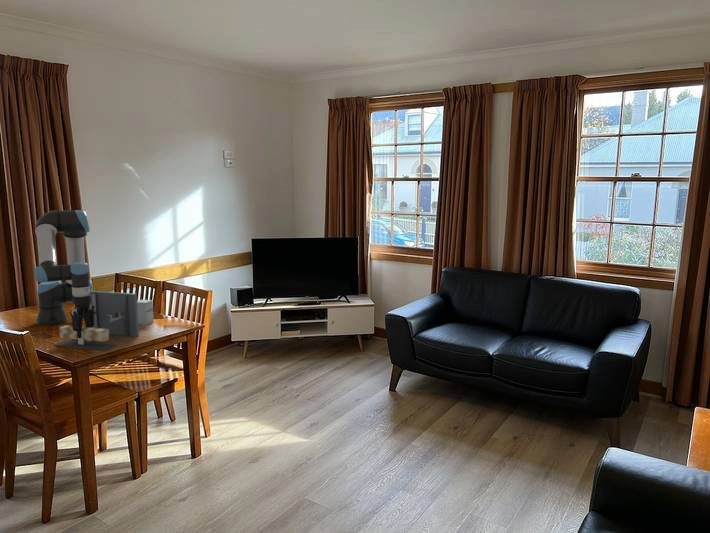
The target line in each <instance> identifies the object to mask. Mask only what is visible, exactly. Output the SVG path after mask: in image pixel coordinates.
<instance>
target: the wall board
mask: <svg viewBox="0 0 710 533" xmlns="http://www.w3.org/2000/svg"><path fill="white" fill-rule="evenodd" d="M92 294H97V299H98V314H99V328H103V329H109V335H118V336H125V331H124V317H123V318H121V319H118V320H115V321H113V322H107V315H112V318H113V317H115V312H120V315H121V314H124V313H123V296H128V307H129V324H130V336H129V337H138V336H140V334H139V330H140V329H139V324H138V311H137V301H138V295H137V293H133V292H132V293H129V292H114V291H101V290H100V291H99V290H92V291H90V294H89V295H90V297H91V302H90V303H89V304H90V305H92ZM92 306H93V305H92ZM93 328H94V326H93Z"/></svg>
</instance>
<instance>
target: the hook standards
mask: <svg viewBox="0 0 710 533" xmlns="http://www.w3.org/2000/svg"><path fill="white" fill-rule="evenodd" d="M92 305H93V306H94V328H99V314H98V299H97V294H92ZM123 313H124V314H121V315H120V312H115V317H113V318H112V315H107V322H113V321H115V320H118V319H121V318H123V317H124V331H125V335H124V337H126V338H127V337H131V336H130V324H129V307H128V296H123ZM83 319H84V317H83Z"/></svg>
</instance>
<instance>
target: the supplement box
mask: <svg viewBox="0 0 710 533" xmlns="http://www.w3.org/2000/svg"><path fill="white" fill-rule="evenodd" d="M137 311H138V325H142V326H146V325H149V324H151V323H153V322H154V320H155V318H154V302H153V300H152V299H140V300H137Z"/></svg>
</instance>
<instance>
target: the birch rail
mask: <svg viewBox="0 0 710 533" xmlns="http://www.w3.org/2000/svg"><path fill="white" fill-rule="evenodd" d="M58 328H59V338H62V339H70V340H72V339H74V340H78V338H77V332H76V331H73V327H72V325H66V324H65V325H63V326H60V327H58ZM82 331H83V333H84V341H85V340H91V342H93V341H94V342H102V343H103V342H106V341H108V340H110V334H109V329H103V328H91V327H86V326H82Z"/></svg>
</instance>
